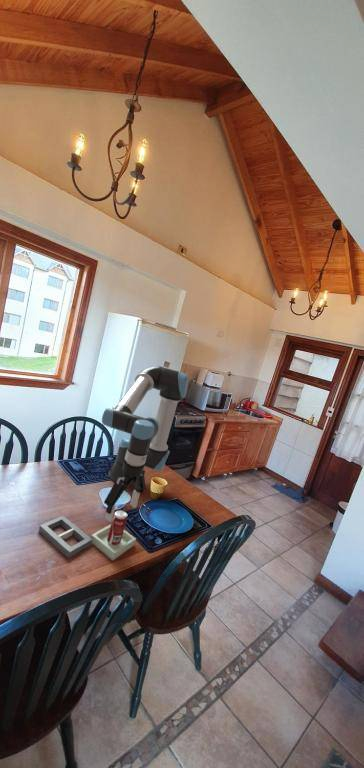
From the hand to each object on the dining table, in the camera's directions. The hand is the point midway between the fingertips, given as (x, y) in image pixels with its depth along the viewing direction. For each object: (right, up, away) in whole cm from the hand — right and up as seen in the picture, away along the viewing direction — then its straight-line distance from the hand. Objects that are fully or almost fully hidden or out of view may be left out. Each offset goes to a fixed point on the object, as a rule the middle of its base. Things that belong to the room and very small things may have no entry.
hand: (121, 512), depth 116 cm
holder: (-20, -8, -2) cm, 22 cm away
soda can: (-3, -12, +2) cm, 13 cm away
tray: (-4, -12, +2) cm, 13 cm away
